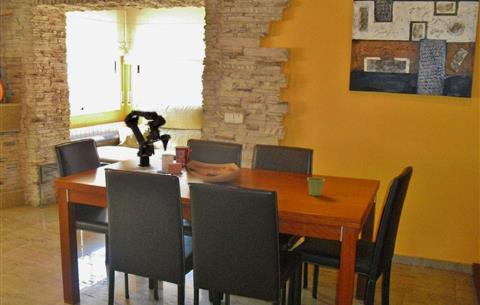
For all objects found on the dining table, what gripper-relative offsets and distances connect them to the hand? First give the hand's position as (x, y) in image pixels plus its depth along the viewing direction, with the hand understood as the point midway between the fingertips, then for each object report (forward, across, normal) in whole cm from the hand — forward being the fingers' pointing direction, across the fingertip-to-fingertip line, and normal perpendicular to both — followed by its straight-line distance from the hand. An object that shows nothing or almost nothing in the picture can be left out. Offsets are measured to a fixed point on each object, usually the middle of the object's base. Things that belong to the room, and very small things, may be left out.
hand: (159, 153), depth 316 cm
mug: (+10, +3, +20) cm, 22 cm away
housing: (+15, +8, -4) cm, 18 cm away
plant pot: (+50, +96, -5) cm, 108 cm away
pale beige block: (+13, +5, -3) cm, 14 cm away
